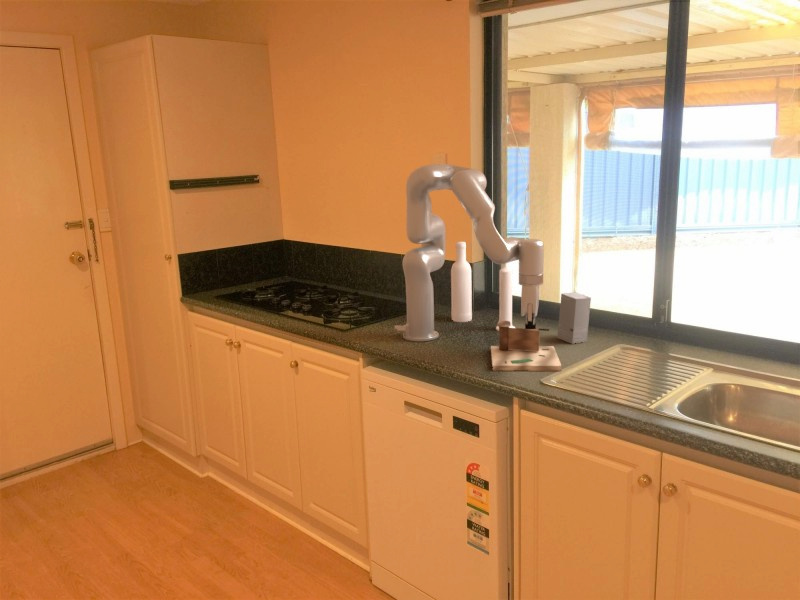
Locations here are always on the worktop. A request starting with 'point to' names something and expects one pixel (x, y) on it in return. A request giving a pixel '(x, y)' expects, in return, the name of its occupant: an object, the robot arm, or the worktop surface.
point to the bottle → (461, 286)
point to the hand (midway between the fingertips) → (530, 335)
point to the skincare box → (574, 317)
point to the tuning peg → (518, 337)
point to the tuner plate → (526, 359)
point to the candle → (505, 295)
